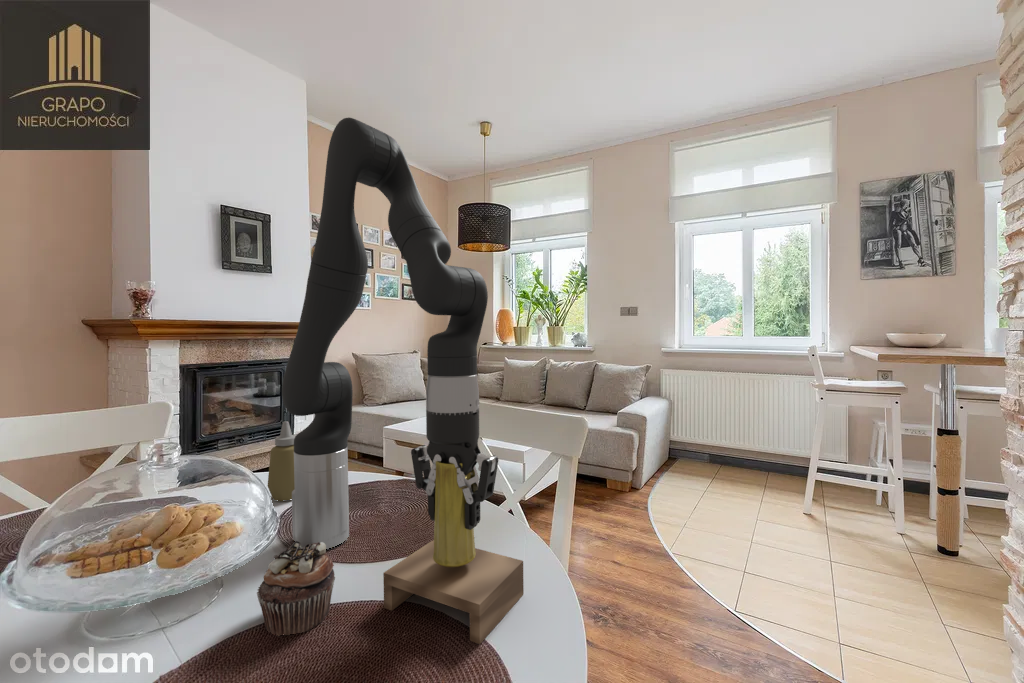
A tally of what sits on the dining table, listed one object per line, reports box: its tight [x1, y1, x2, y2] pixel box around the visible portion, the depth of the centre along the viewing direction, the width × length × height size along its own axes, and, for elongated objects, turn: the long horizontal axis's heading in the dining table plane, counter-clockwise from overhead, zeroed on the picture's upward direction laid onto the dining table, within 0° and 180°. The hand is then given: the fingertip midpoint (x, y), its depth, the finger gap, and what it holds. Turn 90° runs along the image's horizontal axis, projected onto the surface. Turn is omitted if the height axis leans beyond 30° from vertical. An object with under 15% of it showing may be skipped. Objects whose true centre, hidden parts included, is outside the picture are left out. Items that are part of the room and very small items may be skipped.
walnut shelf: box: [382, 539, 525, 645], centre depth 65 cm, size 16×12×5 cm
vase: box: [433, 461, 476, 567], centre depth 65 cm, size 6×6×14 cm
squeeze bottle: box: [267, 420, 296, 502], centre depth 106 cm, size 8×8×18 cm
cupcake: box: [256, 541, 336, 637], centre depth 62 cm, size 10×10×10 cm
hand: (453, 522), depth 65 cm, fingers closed on vase, 5 cm apart
